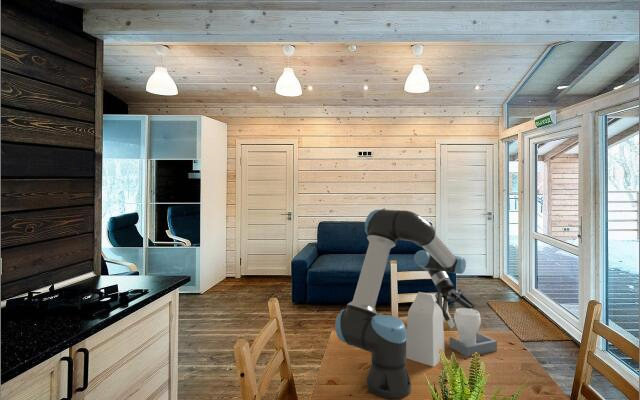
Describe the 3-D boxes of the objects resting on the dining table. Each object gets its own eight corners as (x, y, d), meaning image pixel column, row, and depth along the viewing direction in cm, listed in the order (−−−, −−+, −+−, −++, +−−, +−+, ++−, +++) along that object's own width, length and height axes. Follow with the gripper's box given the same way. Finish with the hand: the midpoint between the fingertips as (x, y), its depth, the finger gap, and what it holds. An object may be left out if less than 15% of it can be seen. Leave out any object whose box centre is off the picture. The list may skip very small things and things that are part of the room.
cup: (475, 341, 163) (476, 307, 163) (483, 351, 152) (484, 316, 152) (451, 340, 164) (451, 307, 164) (457, 350, 153) (458, 315, 153)
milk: (444, 356, 148) (445, 293, 147) (433, 366, 139) (434, 299, 139) (416, 348, 156) (417, 288, 155) (404, 357, 147) (405, 294, 146)
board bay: (467, 357, 147) (467, 347, 147) (449, 346, 157) (449, 337, 157) (496, 350, 153) (497, 341, 153) (477, 341, 163) (477, 332, 163)
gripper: (459, 284, 180) (482, 325, 167) (417, 289, 171) (438, 332, 158) (467, 276, 175) (492, 317, 161) (424, 281, 166) (446, 325, 152)
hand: (465, 325), depth 159 cm, fingers open, 13 cm apart
